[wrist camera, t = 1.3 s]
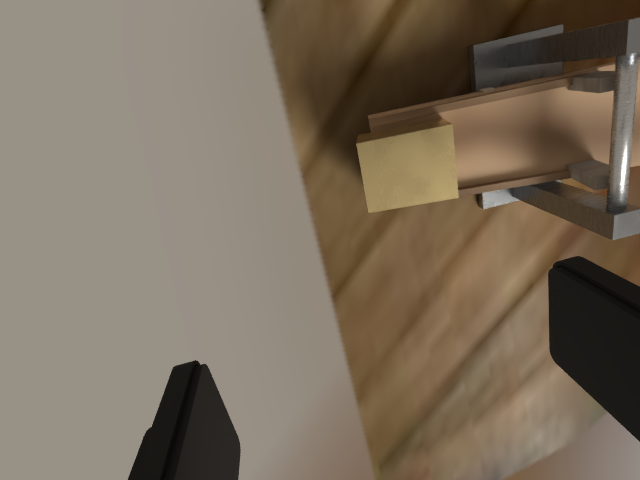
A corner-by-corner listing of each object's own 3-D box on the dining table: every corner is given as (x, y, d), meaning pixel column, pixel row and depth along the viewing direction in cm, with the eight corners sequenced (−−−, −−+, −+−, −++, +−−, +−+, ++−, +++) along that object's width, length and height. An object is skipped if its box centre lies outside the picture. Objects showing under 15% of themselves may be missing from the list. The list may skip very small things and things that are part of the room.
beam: (367, 113, 29) (367, 121, 24) (827, 14, 23) (938, 0, 19) (382, 205, 31) (385, 228, 27) (797, 134, 26) (889, 147, 22)
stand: (468, 46, 29) (578, 20, 19) (556, 25, 30) (714, -12, 19) (478, 206, 34) (571, 257, 24) (554, 187, 34) (679, 230, 24)
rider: (357, 135, 28) (356, 143, 25) (442, 117, 27) (452, 124, 24) (368, 197, 30) (368, 212, 27) (448, 183, 29) (458, 197, 26)
